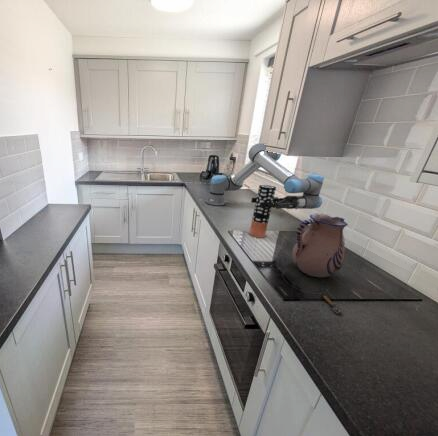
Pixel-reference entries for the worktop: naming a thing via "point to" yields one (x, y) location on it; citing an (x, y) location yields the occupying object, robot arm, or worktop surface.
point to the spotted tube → (263, 195)
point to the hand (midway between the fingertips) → (256, 202)
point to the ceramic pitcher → (320, 245)
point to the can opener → (332, 305)
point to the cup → (258, 229)
